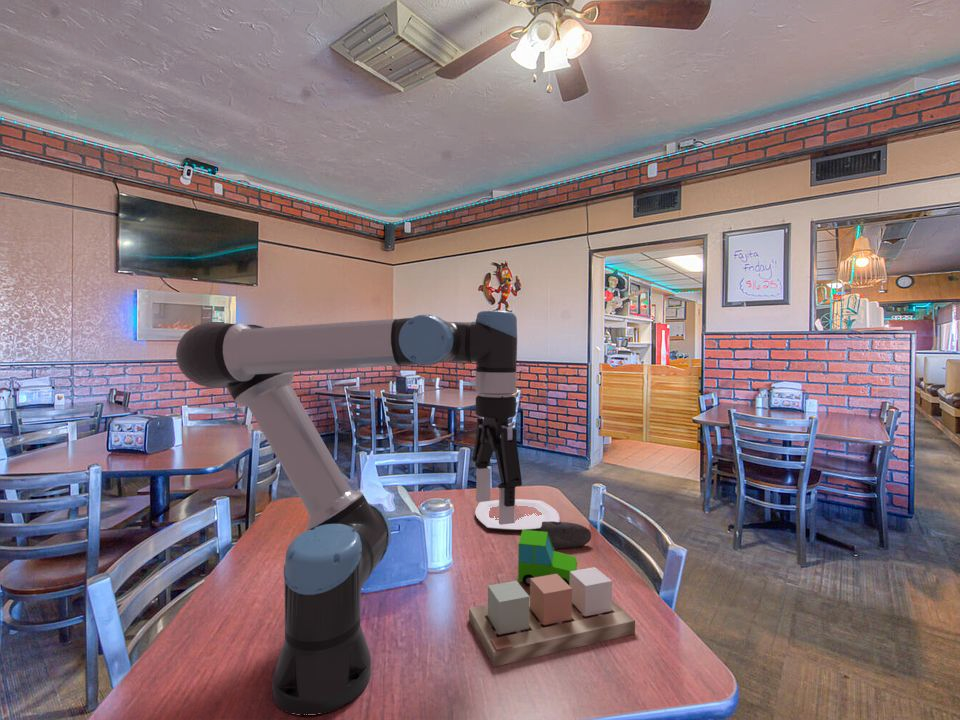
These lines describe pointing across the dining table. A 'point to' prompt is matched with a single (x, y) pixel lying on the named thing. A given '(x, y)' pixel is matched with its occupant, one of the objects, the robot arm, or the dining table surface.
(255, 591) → the dining table surface
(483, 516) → the plate
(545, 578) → the terracotta button
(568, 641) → the board
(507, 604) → the sage button
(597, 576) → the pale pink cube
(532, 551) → the toy car
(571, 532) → the perforated stone tool
